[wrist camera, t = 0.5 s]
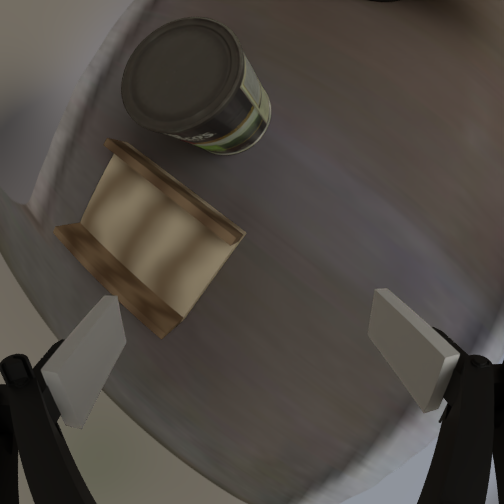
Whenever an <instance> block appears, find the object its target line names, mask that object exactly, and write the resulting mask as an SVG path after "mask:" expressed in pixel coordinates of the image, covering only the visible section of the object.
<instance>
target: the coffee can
mask: <svg viewBox="0 0 504 504" xmlns="http://www.w3.org/2000/svg"><path fill="white" fill-rule="evenodd" d="M121 94H122V99H123V103H124V106H125V108H126V110H127V112H128V114H129V115H130V117H131V118H132V119H133V120H134V121H135V122H136V123H137V124H139V125H140V126H142V127H144V128H146V129H148V130H151V131H154V132H158V133H164V134H167V135H169V136H172V137H174V138H177V139H180V140H182V141H185V142H188V143H190V144H193V145H195V146H198V147H200V148H203V149H205V150H206V151H208V152H211V153H213V154H218V155H232V154H237V153H240V152H243V151H245V150H247V149H249V148H250V147H252V146H253V145H254V144H256V143H257V142H258V141H259V140H260V139H261V138H262V136H263V135H264V133H265V132H266V130H267V128H268V126H269V123H270V119H271V104H270V100H269V97H268V95H267V93H266V91H265V90H264V89H263V87H262V85H261V83H260V81H259V80H258V78H257V76H256V74H255V72H254V70H253V68H252V67H251V65H250V63H249V61H248V59H247V58H246V56H245V54H244V52H243V50H242V47H241V44H240V42H239V40H238V38H237V37H236V35H235V34H234V33H233V32H232V31H231V30H230V29H229V28H228V27H227V26H226V25H224V24H222V23H220V22H218V21H216V20H213V19H209V18H204V17H188V18H182V19H178V20H175V21H172V22H170V23H167V24H165V25H163V26H161V27H160V28H158V29H156V30H155V31H154V32H152V33H151V34H150V35H149V36H147V37H146V38H145V39H144V40H143V41H142V42H141V43H140V44H139V45H138V46H137V48H136V49H135V51H134V52H133V53H132V55H131V57H130V58H129V60H128V63H127V65H126V67H125V70H124V74H123V78H122V84H121Z"/></svg>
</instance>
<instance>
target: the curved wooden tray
mask: <svg viewBox="0 0 504 504" xmlns="http://www.w3.org/2000/svg"><path fill="white" fill-rule="evenodd" d="M104 146H105V147H107V148H108V149H109V150H110V151H112V152H113V153H114V155H113V157H112V158H111V160H110V162H109V164H108V166H107V168H106V170H105V172H104V174H103V175H102V177H101V179H100V181H99V183H98V185H97V187H96V189H95V191H94V193H93V196H92V198H91V200H90V202H89V204H88V206H87V208H86V210H85V213H84V215H83V217H82V219H81V222H80V223H75V224H68V225H62V226H55V229H54V232H53V233H54V234H55V235H56V237H57V238H58V239H59V240H60V241H61V242H62V243H63V244H64V245H65V247H66V248H67V249H68V250H69V251H70V252H71V253H72V254H73V255H74V256H75V257H76V259H77V260H78V261H79V262H80V263H81V264H82V265H83V266H84V267H85V268H86V269H87V270H88V271H89V272H90V273H91V274H92V275H93V276H94V277H95V278H96V279H97V280H98V281H99V282H100V283H101V284H102V285H103V286H104V287H105V288H106V289H107V290H108V291H109V292H110V293H111V294H112V295H113V296H118V301H119V302H120V303H121V304H122V305H123V306H125V307H126V308H127V309H128V310H129V311H130V312H131V313H132V314H133V315H134V316H135V317H137V318H138V319H139V320H140V321H141V322H142V323H143V324H144V325H145V326H147V327H148V328H149V329H150V330H151V331H152V332H153V333H155V334H156V335H157V336H158V337H159V338H160V339H163V338H164V337H165V336H166V335H167V334H168V333H169V332H171V331H172V330H173V329H174V328H175V327H176V326H177V325H178V324H180V323H181V322H182V321H183V320H184V319H185V318H186V316H187V315H188V314H189V312H190V311H191V309H192V308H193V307H194V305H195V304H196V302H197V301H198V300H199V298H200V297H201V295H202V294H203V293H204V291H205V290H206V288H207V287H208V286H209V284H210V283H211V282H212V280H213V279H214V277H215V276H216V275H217V273H218V272H219V270H220V269H221V268H222V266H223V265H224V264H225V262H226V261H227V259H228V258H229V257H230V255H231V254H232V253H233V251H234V250H235V248H236V247H237V246H238V244H239V243H240V242H241V240H242V239H243V237H244V236H245V235H246V232H245V231H243V230H242V229H241V228H239V227H238V226H237V225H236V224H234V223H233V222H232V221H230V220H229V219H228V218H227V217H225V216H224V215H223V214H221V213H220V212H219V211H217V210H216V209H215V208H214V207H212V206H211V205H210V204H208V203H207V202H206V201H204V200H203V199H202V198H200V197H199V196H198V195H197V194H195V193H194V192H193V191H191V190H190V189H189V188H187V187H186V186H185V185H183V184H182V183H181V182H179V181H178V180H177V179H176V178H174V177H173V176H172V175H170V174H169V173H168V172H166V171H165V170H164V169H162V168H161V167H160V166H158V165H157V164H156V163H154V162H153V161H152V160H150V159H149V158H148V157H146V156H145V155H144V154H142V153H141V152H140V151H138V150H137V149H136V148H134V147H133V146H132V145H130V144H129V143H128V142H124V141H119V140H115V139H110V138H107V139H106V141H105V143H104Z"/></svg>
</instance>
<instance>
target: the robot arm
mask: <svg viewBox="0 0 504 504" xmlns="http://www.w3.org/2000/svg"><path fill="white" fill-rule="evenodd" d="M372 1H381V2H390V1H398V0H372ZM367 335H368V337H369V338H370V339H371V341H372V342H373V343H374V345H375V346H376V347H377V349H378V350H379V351H380V353H381V354H382V356H383V357H384V358H385V360H386V361H387V362H388V364H389V365H390V366H391V368H392V369H393V371H394V372H395V373H396V375H397V376H398V377H399V379H400V380H401V382H402V383H403V384H404V386H405V387H406V389H407V390H408V391H409V393H410V394H411V396H412V397H413V399H414V400H415V401H416V403H417V404H418V406H419V407H420V408H421V410H422V411H423V413H426V412H430V411H433V410H436V409H438V408H439V406H440V404H441V402H442V399H443V398H444V399H445V400H446V401H447V406H446V408H445V410H444V412H443V414H442V416H441V418H440V420H439V423H441V422H442V424H441V428H440V432H439V436H438V441H437V444H436V448H435V452H434V455H433V459H432V462H431V465H430V468H429V472H428V474H427V478H426V480H425V483H424V486H423V489H422V492H421V495H420V497H419V500H418V502H417V504H485V500H486V495H487V489H488V483H489V476H490V468H491V460H492V454H493V459H494V465H495V473H496V480H497V489H498V499H499V504H504V361H503V363H502V364H492V363H491V361H490V360H489V359H487V358H485V357H484V356H480V355H468V354H467V353H466V352H464V351H463V350H462V349H461V348H460V347H459V346H458V345H457V344H456V343H455V342H454V343H453V341H452V340H451V339H450V338H448V336H447V335H446V334H445V333H444V332H442V331H441V330H439V329H437V328H435V327H431V326H430V325H428V324H427V323H426V322H425V321H424V320H423V319H422V318H421V317H419V316H418V315H417V314H416V313H415V312H414V311H413V310H412V309H410V308H409V307H408V306H407V305H406V304H405V303H404V302H402V301H401V300H400V299H399V298H398V297H397V296H395V295H394V294H393V293H392V292H391V291H390V290H388V289H387V288H385V289H375V290H374V297H373V304H372V310H371V316H370V322H369V328H368V333H367ZM125 344H126V338H125V333H124V328H123V323H122V318H121V313H120V307H119V302H118V296H103V297H102V299H101V300H100V301H99V302H98V303H97V304H96V305H95V306H94V307H93V308H92V310H91V311H90V312H89V313H88V314H87V315H86V316H85V317H84V319H83V320H82V321H81V322H80V323H79V324H78V325H77V327H76V328H75V329H74V330H73V331H72V332H71V334H70V335H69V336H68V337H67V338H66V339H65V340H63V339H62V340H60V341H58V342H57V343H55V344H54V345H53V346H52V347H51V348H50V349H49V350H48V353H46V354H45V355H44V357H43V358H41V360H40V361H39V362H38V363H37V364H36V366H35V367H34V368H33V369H32V366H31V364H30V362H29V359H28V357H27V356H26V355H24V354H14V355H10V356H8V357H6V358H5V359H3V360H2V361H1V363H0V372H1V374H2V376H3V378H4V380H5V383H6V384H0V504H19V494H18V450H19V454H20V458H21V462H22V465H23V469H24V473H25V476H26V479H27V482H28V485H29V488H30V492H31V494H32V497H33V500H34V502H35V504H96V502H95V500H94V498H93V497H92V495H91V493H90V491H89V490H88V488H87V486H86V484H85V482H84V480H83V478H82V476H81V474H80V472H79V470H78V468H77V466H76V464H75V462H74V459H73V457H72V455H71V453H70V451H69V448H68V446H67V444H66V441H65V439H64V437H63V434H62V432H61V429H60V427H59V425H58V423H57V420H58V419H59V417H60V415H61V417H62V419H63V421H64V423H65V425H66V426H70V427H75V428H79V429H82V428H83V426H84V424H85V422H86V420H87V418H88V416H89V414H90V412H91V409H92V408H93V406H94V403H95V402H96V400H97V398H98V396H99V394H100V392H101V390H102V388H103V386H104V384H105V382H106V380H107V378H108V376H109V374H110V372H111V370H112V368H113V367H114V365H115V363H116V361H117V359H118V357H119V355H120V353H121V352H122V350H123V348H124V346H125Z"/></svg>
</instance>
